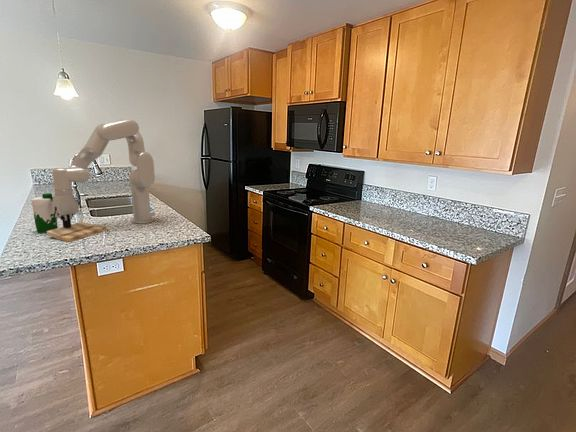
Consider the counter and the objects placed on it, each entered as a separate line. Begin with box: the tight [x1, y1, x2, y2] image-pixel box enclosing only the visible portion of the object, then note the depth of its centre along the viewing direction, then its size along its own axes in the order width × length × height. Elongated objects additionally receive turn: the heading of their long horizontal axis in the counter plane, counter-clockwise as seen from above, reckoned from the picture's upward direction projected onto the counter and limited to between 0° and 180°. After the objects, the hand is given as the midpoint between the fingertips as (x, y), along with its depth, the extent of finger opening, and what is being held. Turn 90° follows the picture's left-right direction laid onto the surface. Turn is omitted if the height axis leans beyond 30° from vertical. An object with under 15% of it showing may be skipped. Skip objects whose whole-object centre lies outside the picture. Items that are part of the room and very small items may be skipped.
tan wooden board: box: [46, 221, 95, 240], centre depth 166 cm, size 20×9×2 cm, turn 165°
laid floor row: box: [59, 225, 107, 243], centre depth 164 cm, size 22×6×2 cm, turn 165°
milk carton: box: [31, 192, 59, 234], centre depth 167 cm, size 9×9×20 cm
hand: (67, 227), depth 166 cm, fingers closed
